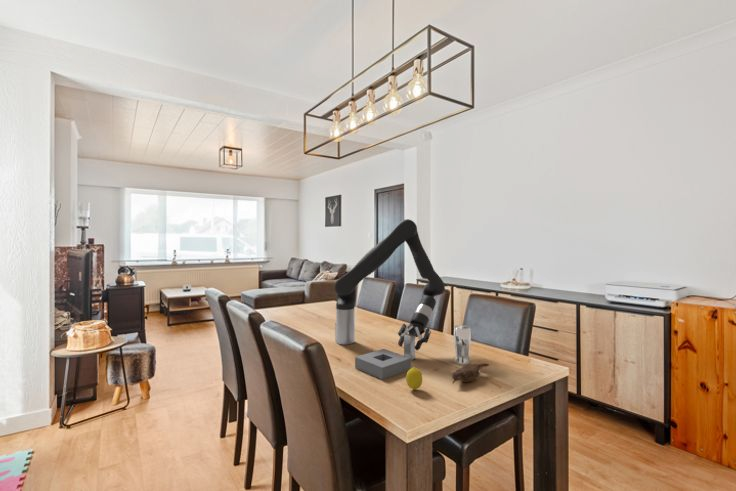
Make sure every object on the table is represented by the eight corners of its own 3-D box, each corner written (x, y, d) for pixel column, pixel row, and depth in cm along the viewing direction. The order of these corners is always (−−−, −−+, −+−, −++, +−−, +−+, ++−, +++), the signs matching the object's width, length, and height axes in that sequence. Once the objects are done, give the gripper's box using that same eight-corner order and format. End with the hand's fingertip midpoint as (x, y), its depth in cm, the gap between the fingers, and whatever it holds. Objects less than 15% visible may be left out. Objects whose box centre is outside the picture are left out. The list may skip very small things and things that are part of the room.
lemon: (404, 387, 126) (404, 364, 126) (420, 386, 127) (420, 364, 127) (407, 393, 121) (407, 370, 121) (424, 393, 121) (424, 369, 121)
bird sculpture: (494, 372, 140) (494, 360, 139) (460, 392, 122) (460, 377, 122) (479, 368, 144) (479, 356, 144) (443, 386, 127) (443, 372, 127)
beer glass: (471, 360, 153) (472, 326, 153) (469, 366, 147) (469, 329, 146) (455, 358, 156) (455, 324, 156) (452, 363, 150) (452, 328, 149)
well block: (355, 367, 145) (355, 356, 145) (383, 359, 156) (383, 348, 156) (382, 379, 133) (382, 367, 133) (411, 369, 144) (411, 358, 144)
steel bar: (404, 358, 156) (404, 335, 156) (408, 356, 159) (408, 334, 159) (410, 360, 154) (410, 337, 154) (415, 358, 157) (415, 335, 156)
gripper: (405, 309, 166) (391, 339, 158) (432, 313, 157) (418, 345, 149) (411, 319, 170) (397, 348, 162) (438, 323, 161) (425, 355, 153)
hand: (407, 347), depth 155 cm, fingers open, 8 cm apart
